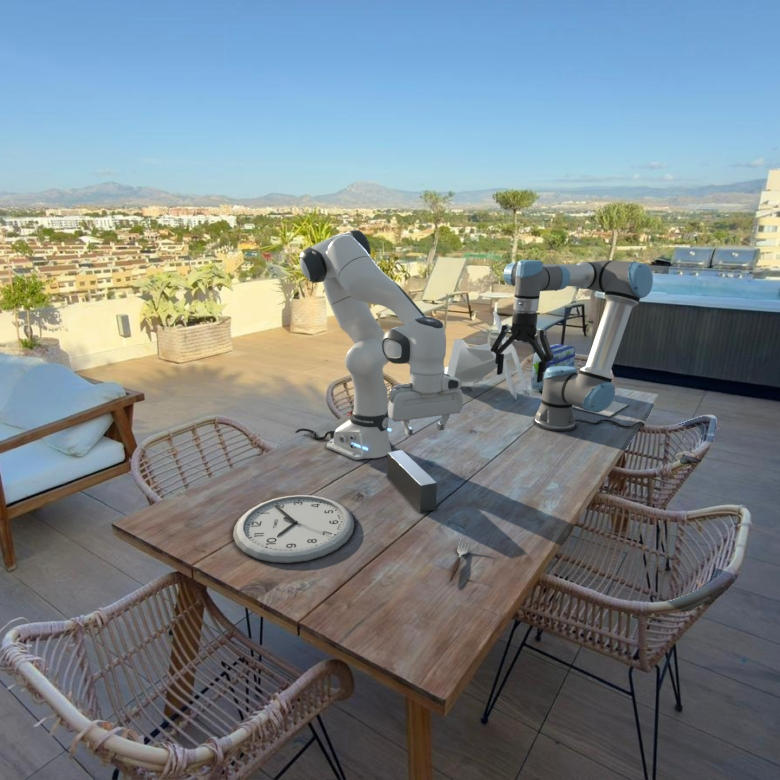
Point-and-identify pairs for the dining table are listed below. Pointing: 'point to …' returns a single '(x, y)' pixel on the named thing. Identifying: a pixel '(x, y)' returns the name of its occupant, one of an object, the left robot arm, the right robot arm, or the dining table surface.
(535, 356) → the lunch box
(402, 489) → the bar
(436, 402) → the left robot arm
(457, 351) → the white plastic object
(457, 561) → the fork
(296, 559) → the wall clock
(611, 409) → the invitation card
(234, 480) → the dining table surface
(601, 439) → the dining table surface
